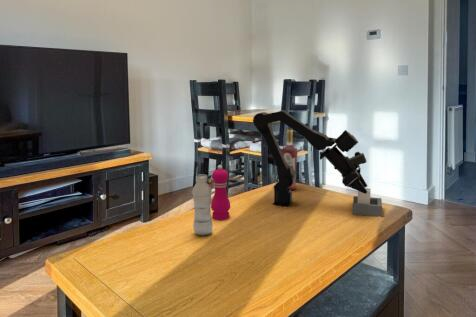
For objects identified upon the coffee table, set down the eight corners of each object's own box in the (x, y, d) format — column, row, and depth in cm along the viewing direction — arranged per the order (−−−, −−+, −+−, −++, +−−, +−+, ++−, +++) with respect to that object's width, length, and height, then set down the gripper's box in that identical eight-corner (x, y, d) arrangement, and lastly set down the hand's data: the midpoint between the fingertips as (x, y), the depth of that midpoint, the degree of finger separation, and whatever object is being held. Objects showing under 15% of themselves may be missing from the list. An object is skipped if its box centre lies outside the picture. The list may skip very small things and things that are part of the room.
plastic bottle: (197, 239, 127) (195, 178, 123) (190, 231, 133) (188, 174, 129) (215, 235, 129) (214, 176, 125) (208, 228, 135) (207, 172, 131)
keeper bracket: (352, 214, 149) (352, 203, 148) (353, 205, 159) (353, 196, 158) (381, 216, 146) (382, 206, 145) (380, 207, 156) (381, 198, 155)
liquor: (298, 188, 186) (299, 129, 180) (294, 192, 179) (295, 131, 174) (283, 186, 189) (284, 128, 183) (279, 190, 182) (279, 130, 177)
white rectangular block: (357, 211, 151) (358, 190, 150) (357, 208, 156) (358, 187, 154) (369, 213, 150) (370, 191, 148) (369, 209, 154) (370, 188, 153)
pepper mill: (207, 217, 147) (205, 165, 143) (220, 212, 152) (220, 162, 148) (220, 221, 142) (219, 168, 138) (234, 216, 147) (233, 164, 143)
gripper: (353, 150, 141) (384, 182, 139) (355, 142, 158) (382, 171, 157) (329, 170, 145) (359, 201, 143) (334, 160, 162) (360, 188, 161)
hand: (366, 189), depth 151 cm, fingers open, 9 cm apart
